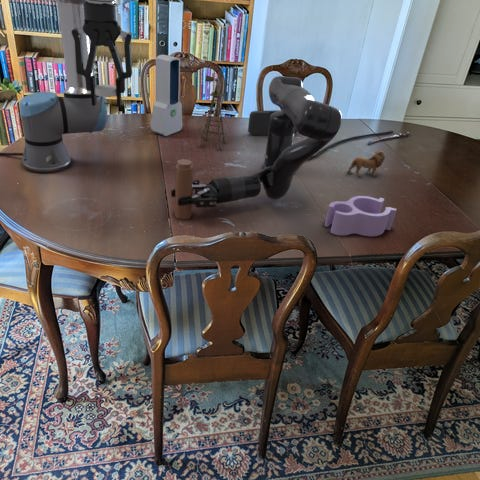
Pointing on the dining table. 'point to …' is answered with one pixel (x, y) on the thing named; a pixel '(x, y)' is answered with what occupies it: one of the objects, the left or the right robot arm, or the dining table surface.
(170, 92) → the electronic device
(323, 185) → the dining table surface
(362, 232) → the clip
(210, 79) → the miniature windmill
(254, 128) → the handheld gaming console
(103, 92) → the lid
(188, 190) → the jar
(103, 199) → the dining table surface
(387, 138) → the sword
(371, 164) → the lion figurine
